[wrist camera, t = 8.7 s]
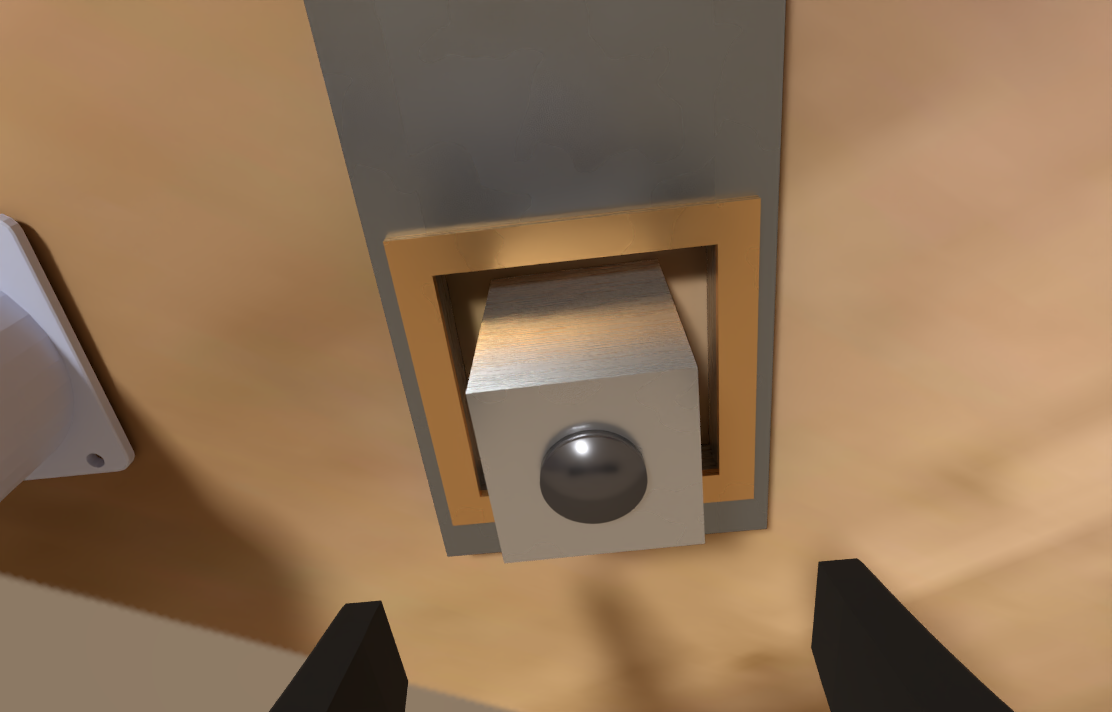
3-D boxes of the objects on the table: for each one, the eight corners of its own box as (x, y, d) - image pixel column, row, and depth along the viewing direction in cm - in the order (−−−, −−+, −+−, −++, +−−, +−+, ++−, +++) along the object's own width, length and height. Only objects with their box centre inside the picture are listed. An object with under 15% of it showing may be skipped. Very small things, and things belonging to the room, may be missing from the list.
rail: (452, 530, 23) (446, 563, 22) (136, -744, 11) (76, -849, 9) (756, 503, 22) (769, 535, 21) (792, -877, 10) (828, -1006, 9)
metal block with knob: (517, 416, 21) (503, 573, 15) (491, 278, 19) (463, 402, 13) (666, 400, 20) (707, 553, 15) (657, 258, 18) (700, 374, 13)
